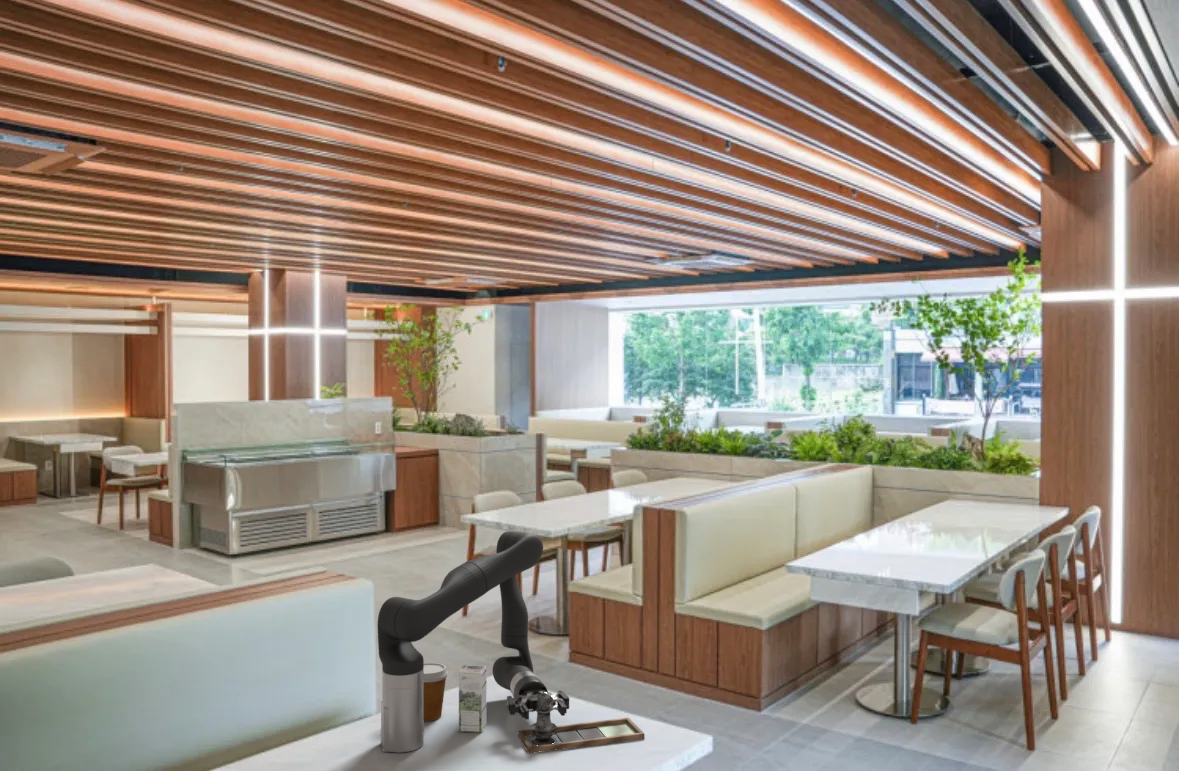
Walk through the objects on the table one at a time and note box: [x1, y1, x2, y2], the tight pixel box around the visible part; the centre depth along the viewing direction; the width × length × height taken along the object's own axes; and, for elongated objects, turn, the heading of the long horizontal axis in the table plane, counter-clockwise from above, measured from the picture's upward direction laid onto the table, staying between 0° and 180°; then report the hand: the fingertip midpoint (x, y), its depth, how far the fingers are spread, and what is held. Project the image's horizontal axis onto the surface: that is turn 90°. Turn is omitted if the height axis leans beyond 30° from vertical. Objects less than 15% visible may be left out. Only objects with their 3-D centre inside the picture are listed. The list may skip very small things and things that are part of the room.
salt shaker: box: [530, 690, 557, 746], centre depth 205 cm, size 6×6×12 cm
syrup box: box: [458, 664, 488, 734], centre depth 213 cm, size 6×6×14 cm
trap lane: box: [517, 717, 645, 754], centre depth 208 cm, size 28×11×1 cm, turn 108°
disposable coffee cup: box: [423, 662, 449, 722], centre depth 221 cm, size 10×10×12 cm
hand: (545, 713), depth 203 cm, fingers open, 8 cm apart
